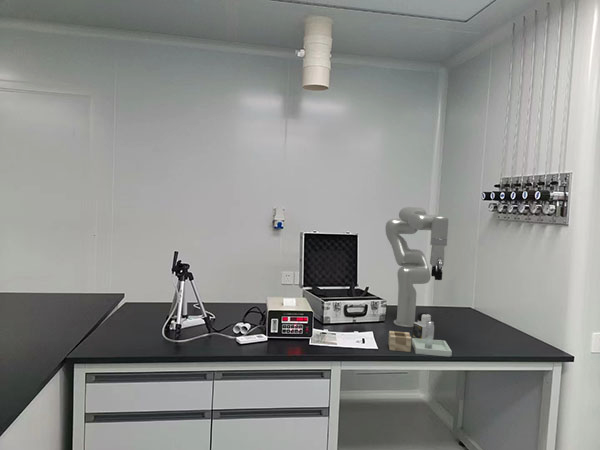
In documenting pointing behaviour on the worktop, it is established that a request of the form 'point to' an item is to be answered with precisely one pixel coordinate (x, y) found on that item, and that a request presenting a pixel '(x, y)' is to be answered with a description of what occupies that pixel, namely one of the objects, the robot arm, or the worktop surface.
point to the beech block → (399, 341)
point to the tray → (437, 347)
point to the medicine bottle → (421, 326)
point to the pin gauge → (429, 334)
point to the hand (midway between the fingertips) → (436, 278)
